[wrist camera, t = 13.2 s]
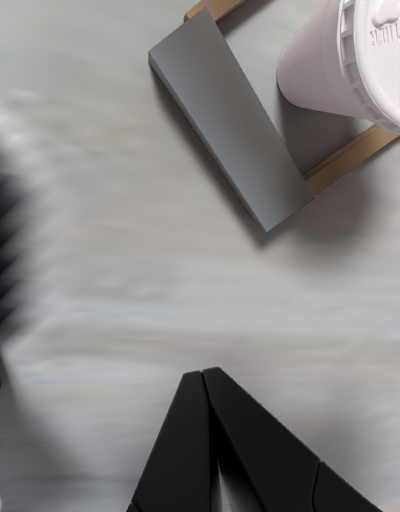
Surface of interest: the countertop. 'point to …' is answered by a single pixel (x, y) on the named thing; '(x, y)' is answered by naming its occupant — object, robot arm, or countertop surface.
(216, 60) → the guide track
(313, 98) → the smoothie
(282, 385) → the countertop surface
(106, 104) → the countertop surface
